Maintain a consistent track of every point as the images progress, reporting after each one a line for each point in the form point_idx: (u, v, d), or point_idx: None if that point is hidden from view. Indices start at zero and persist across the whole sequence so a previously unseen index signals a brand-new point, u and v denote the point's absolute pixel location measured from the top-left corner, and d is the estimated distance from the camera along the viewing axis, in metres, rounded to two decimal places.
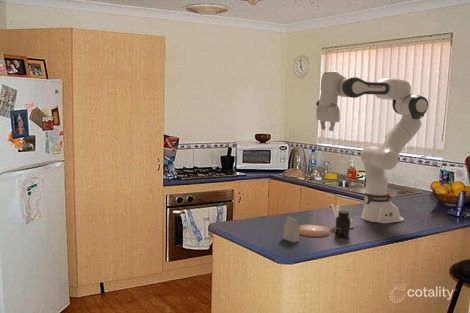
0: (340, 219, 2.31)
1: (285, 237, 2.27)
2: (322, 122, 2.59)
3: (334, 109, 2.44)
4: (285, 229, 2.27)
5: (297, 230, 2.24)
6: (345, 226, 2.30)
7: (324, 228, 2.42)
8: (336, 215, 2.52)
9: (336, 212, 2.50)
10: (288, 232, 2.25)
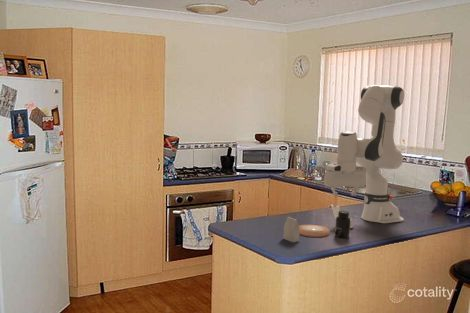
0: (340, 219, 2.31)
1: (285, 237, 2.27)
2: None
3: None
4: (285, 229, 2.27)
5: (297, 230, 2.24)
6: (345, 226, 2.30)
7: (324, 228, 2.42)
8: (336, 215, 2.51)
9: (336, 212, 2.50)
10: (288, 232, 2.25)
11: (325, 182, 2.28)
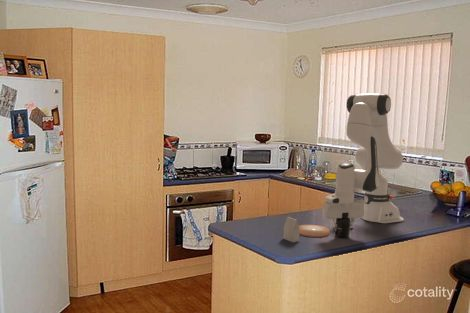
0: (340, 219, 2.31)
1: (285, 237, 2.27)
2: None
3: None
4: (285, 229, 2.27)
5: (297, 230, 2.24)
6: (345, 226, 2.30)
7: (324, 228, 2.42)
8: None
9: None
10: (288, 232, 2.25)
11: (323, 214, 2.30)
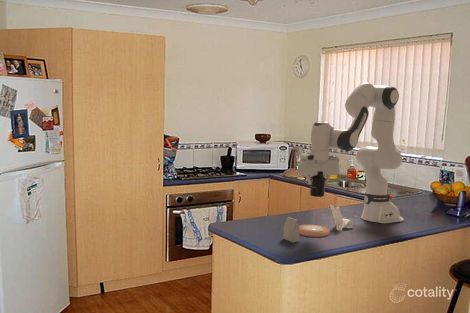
0: (315, 178, 2.33)
1: (285, 237, 2.27)
2: None
3: None
4: (285, 229, 2.27)
5: (297, 230, 2.24)
6: (320, 185, 2.33)
7: (324, 228, 2.42)
8: (335, 216, 2.50)
9: (335, 213, 2.48)
10: (288, 232, 2.25)
11: (298, 171, 2.33)
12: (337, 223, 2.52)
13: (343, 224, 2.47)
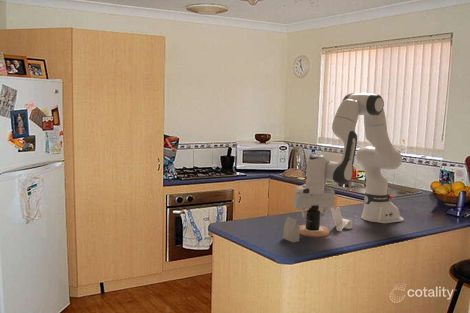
0: (310, 212, 2.36)
1: (285, 237, 2.27)
2: None
3: None
4: (285, 229, 2.27)
5: (297, 230, 2.24)
6: (315, 219, 2.36)
7: (324, 228, 2.42)
8: (335, 216, 2.49)
9: (335, 213, 2.47)
10: (288, 232, 2.25)
11: (294, 204, 2.36)
12: (336, 223, 2.51)
13: (343, 224, 2.46)
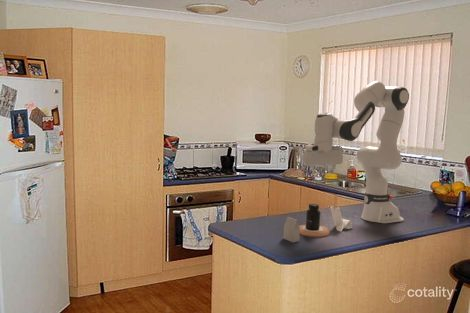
0: (310, 212, 2.36)
1: (285, 237, 2.27)
2: None
3: None
4: (285, 229, 2.27)
5: (297, 230, 2.24)
6: (315, 219, 2.36)
7: (324, 228, 2.42)
8: (334, 217, 2.48)
9: (335, 214, 2.47)
10: (288, 232, 2.25)
11: (304, 162, 2.43)
12: (336, 223, 2.50)
13: (343, 225, 2.46)
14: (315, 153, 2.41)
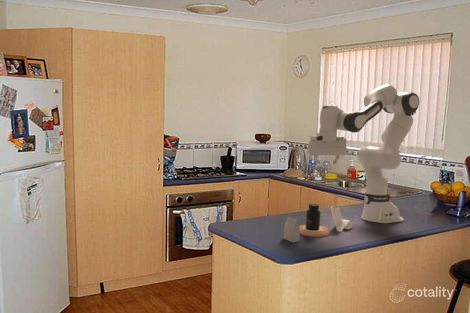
0: (310, 212, 2.36)
1: (285, 237, 2.27)
2: None
3: None
4: (285, 229, 2.27)
5: (297, 230, 2.24)
6: (315, 219, 2.35)
7: (324, 228, 2.42)
8: (334, 217, 2.48)
9: (335, 214, 2.46)
10: (288, 232, 2.25)
11: (308, 151, 2.49)
12: (336, 224, 2.50)
13: (343, 225, 2.45)
14: (319, 143, 2.48)
